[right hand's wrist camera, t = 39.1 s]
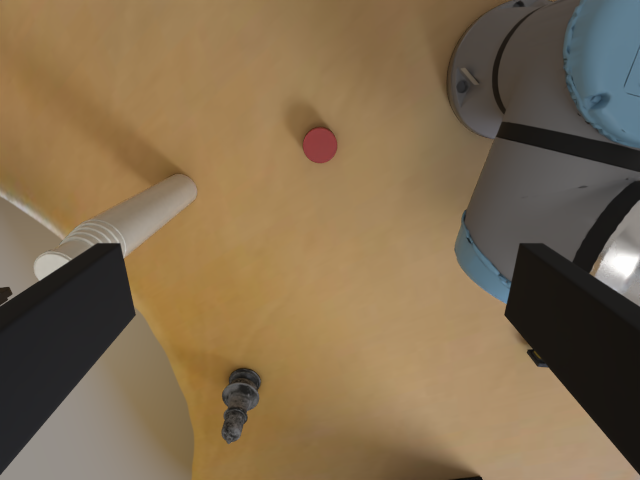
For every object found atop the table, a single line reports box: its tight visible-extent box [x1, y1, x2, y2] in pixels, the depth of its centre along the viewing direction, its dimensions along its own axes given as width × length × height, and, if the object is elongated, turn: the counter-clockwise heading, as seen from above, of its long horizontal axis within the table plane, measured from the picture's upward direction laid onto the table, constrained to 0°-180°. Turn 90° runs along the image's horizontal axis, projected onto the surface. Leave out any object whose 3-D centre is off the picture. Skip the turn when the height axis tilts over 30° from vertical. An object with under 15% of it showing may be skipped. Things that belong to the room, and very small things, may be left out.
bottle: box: [33, 174, 197, 281], centre depth 38 cm, size 4×4×26 cm
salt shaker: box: [222, 369, 261, 444], centre depth 56 cm, size 6×6×12 cm
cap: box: [303, 127, 337, 163], centre depth 47 cm, size 4×4×2 cm
